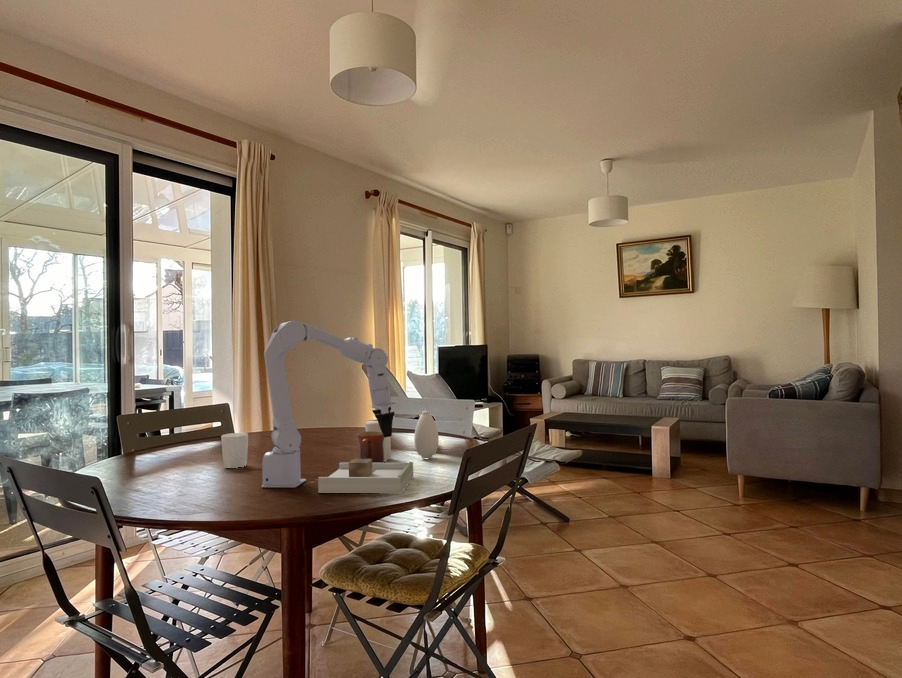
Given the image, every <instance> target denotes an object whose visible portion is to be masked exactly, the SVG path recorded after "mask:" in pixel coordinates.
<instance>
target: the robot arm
mask: <svg viewBox="0 0 902 678" xmlns="http://www.w3.org/2000/svg"><path fill="white" fill-rule="evenodd" d="M307 341H314V342H317V343H320V344H321V345H322V344H323V345H326V346H329V347H331V348H334V349H336V350H338V351H339V353H340V354H341V357H343V358H348V359H350V360H352V361H354V362H357V363H359V364H363V366H365V367H366V372H367V380H368V386H369V393H370V398H371V399H370V400H371V408H372V413H373V414H374V417H375V419H376V420H378V423H379V426H380V429H381V432H382V433H383V435H384V437H390V438H391V437H392V436H393V435H392V434H393V420H394V416H395V414H396V413H395V411H391V410H392V407H391V406H394V405H395V404H397V403H396V400H392V398H391V397H392V396H391V389H390V384H389V376H388V372H387V371H388V370H387V364H388V363H389V362H388V360H389V356H388V355H387V353H386V352H385V350H384V349H382V348H378V347H377V348H376V347H375V348H374V347H373V344H372V343H368V344H367V343H365V342H362V341H360V340H359V338H358V337H356V336H352V337H350V336H349V337H346V338H344V339H343V338H341V337H339V336H337V335H334V334H333V333H330V332H328V331H326V330H323V329H321V328H319V327H317V326H315V325H311V324H308V323H303V322H301V321H298V320H289V321H284V322H281V323H280V324H279V325H278V326H276V328H275V329H274V330H272V332H271V335H270V338H269V341H268V342H267V345H266V347H265V349H264V351H263V357H264V364H265V369H266V375H267V376H266V377H267V381H268V388H269V390H268V391H269V394H270V395H269V396H270V401H271V409H272V416H273V418H272V426H273V429H272V432H271V442H272V444H273V445H275V446H274V447H273V448H272V450H271V451H267V452H265V453H264V455H263V458H262V461H261V462H262V463H261V464H262V465H261V467H262V470H261V471H262V485H261V488H297V487H299V486H300V485H301V484H303V483H304V482H306V481H307V478H301V476H302V475H301V473H302V472H301V448H300V446H301V443H302V436H301V433H300V431H299V430H298V429H297V425H296V420H295V418H294V416H293V411H292V410H293V409H292V405H291V397H290V391H289V385H288V378H287V371H286V365H285V359H284V358H285V357H286V355H287V354H288V353H289V352H290V350H292V348H294V347H296V346H297V345H299V344H300V343H302V342H307Z"/></svg>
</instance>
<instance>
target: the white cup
mask: <svg viewBox="0 0 902 678" xmlns="http://www.w3.org/2000/svg"><path fill="white" fill-rule="evenodd" d="M220 437H221V439H220V440H221V452H222V453H221V454H222V460H223V468H224V467H225V468H224V469H226V468H236V469H239V468H238V467H242V468H244V466H245V467H247V466H246V465H247V462H248V449H249V448H248V446H249V433H248V432H233V433H232V432H230V433H225V434H222V435H221V436H220Z"/></svg>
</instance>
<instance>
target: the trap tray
mask: <svg viewBox="0 0 902 678" xmlns="http://www.w3.org/2000/svg"><path fill="white" fill-rule="evenodd" d="M338 466H339V467H338V469H337V470H336V471H334V472H333V473H331V474H330V475H329V476H318V479H317V483H318V486H317V487H318V488H317V489H318V493H387V494H386V495H401V494H402V493H403V492H404V490H405V489H406V487H407V486H408V485H409V483H410V482H411V481H412V479H413V478H414V462H413V461H409V462H385V463H372V474H371V475H370V476H369V477H349V462H339V463H338ZM412 477H413V478H412ZM410 480H411V481H410ZM409 481H410V482H409ZM407 484H408V485H407ZM406 485H407V486H406ZM404 488H405V489H404ZM403 489H404V490H403ZM401 492H402V493H401ZM388 493H389V494H388Z"/></svg>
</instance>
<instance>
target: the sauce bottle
mask: <svg viewBox="0 0 902 678" xmlns="http://www.w3.org/2000/svg"><path fill="white" fill-rule="evenodd" d="M414 429H415V430H414V437H413V438H414V439H413V440H414V448H415V450H416V452H417V454H418V456H420V457H421V458H422V459H424V458H430V459H431V458H433V456H434V455H436V452H437V451H438V447H439V439H440V438H439V430H438V426H437V425H436V421H435V419H434V418H433V416H432V415H431V413H430V411H429V410H428V409H427V403H425V406H424V410H423V411H422V412H421V415H420V416H419V418H418V420H417V423H416V426H415V428H414Z"/></svg>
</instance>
